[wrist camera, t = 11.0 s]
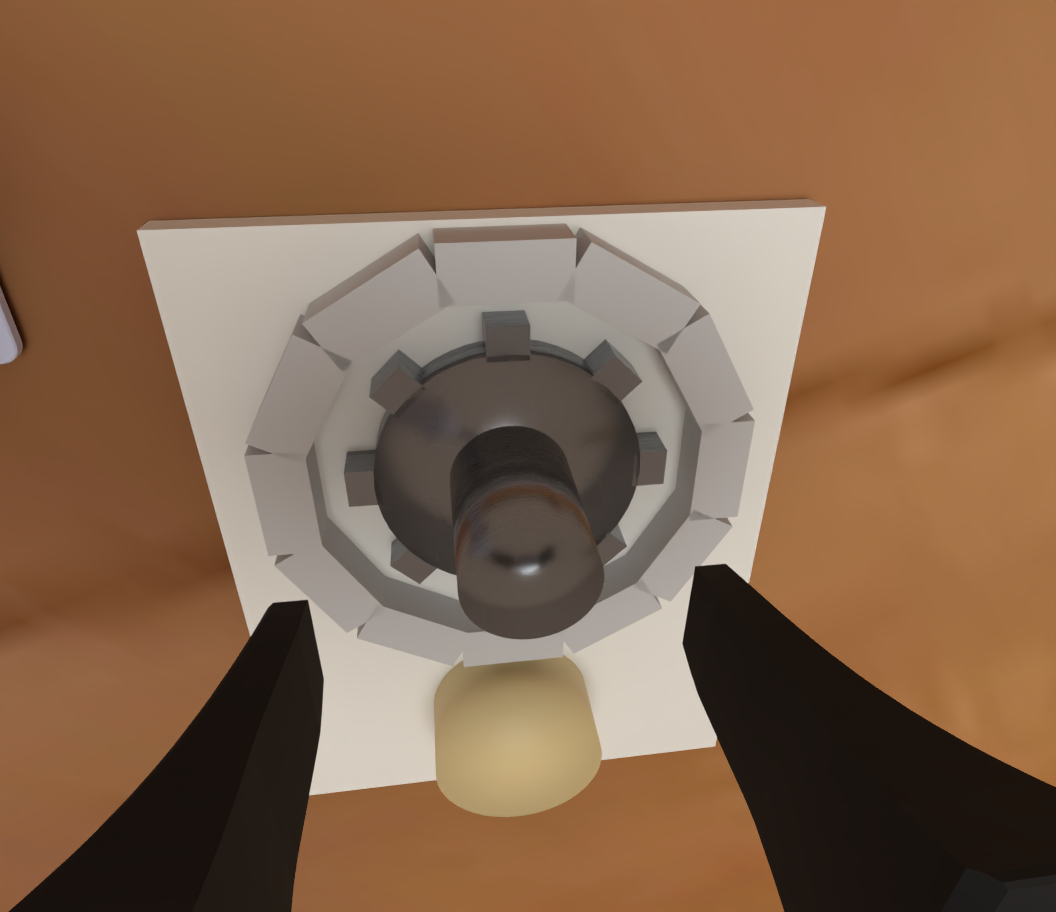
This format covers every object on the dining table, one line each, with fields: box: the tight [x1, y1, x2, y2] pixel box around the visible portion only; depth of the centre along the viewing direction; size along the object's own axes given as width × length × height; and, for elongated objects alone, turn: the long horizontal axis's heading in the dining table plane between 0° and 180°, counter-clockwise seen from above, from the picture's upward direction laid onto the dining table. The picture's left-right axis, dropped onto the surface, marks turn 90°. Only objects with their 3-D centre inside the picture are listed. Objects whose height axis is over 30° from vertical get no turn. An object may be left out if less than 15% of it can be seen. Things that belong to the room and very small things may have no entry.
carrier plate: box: [137, 199, 826, 817], centre depth 24 cm, size 18×23×4 cm
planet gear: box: [344, 310, 667, 640], centre depth 20 cm, size 10×10×6 cm
